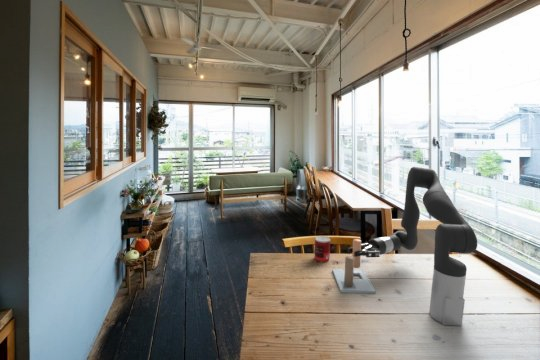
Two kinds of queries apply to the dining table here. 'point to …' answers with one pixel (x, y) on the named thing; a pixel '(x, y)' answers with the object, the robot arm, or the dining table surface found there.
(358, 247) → the wooden peg
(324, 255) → the canned food
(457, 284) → the robot arm
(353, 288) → the board
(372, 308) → the dining table surface
